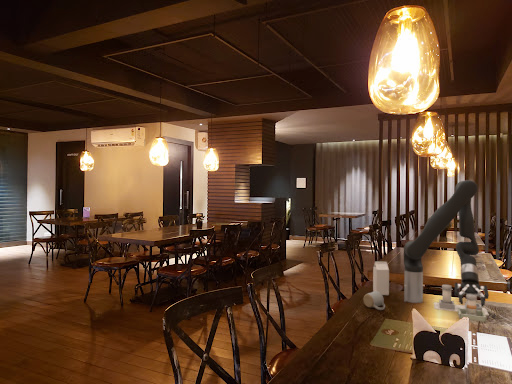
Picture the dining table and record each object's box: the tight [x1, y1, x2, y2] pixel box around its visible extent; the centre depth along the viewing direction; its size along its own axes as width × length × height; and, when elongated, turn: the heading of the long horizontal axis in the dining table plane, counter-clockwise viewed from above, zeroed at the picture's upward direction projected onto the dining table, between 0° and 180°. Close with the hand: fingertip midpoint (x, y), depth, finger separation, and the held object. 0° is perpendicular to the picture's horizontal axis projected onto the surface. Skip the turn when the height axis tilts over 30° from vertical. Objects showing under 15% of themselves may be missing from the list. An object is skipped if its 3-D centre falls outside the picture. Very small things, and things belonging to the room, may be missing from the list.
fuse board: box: [433, 299, 490, 316], centre depth 192 cm, size 24×12×4 cm, turn 66°
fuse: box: [441, 284, 453, 304], centre depth 194 cm, size 4×4×11 cm
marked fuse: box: [465, 293, 478, 316], centre depth 179 cm, size 4×4×11 cm
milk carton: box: [372, 261, 390, 296], centre depth 222 cm, size 7×7×19 cm
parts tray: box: [457, 308, 487, 323], centre depth 179 cm, size 11×10×3 cm
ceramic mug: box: [362, 291, 386, 311], centre depth 197 cm, size 11×8×8 cm
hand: (472, 304), depth 178 cm, fingers open, 8 cm apart
